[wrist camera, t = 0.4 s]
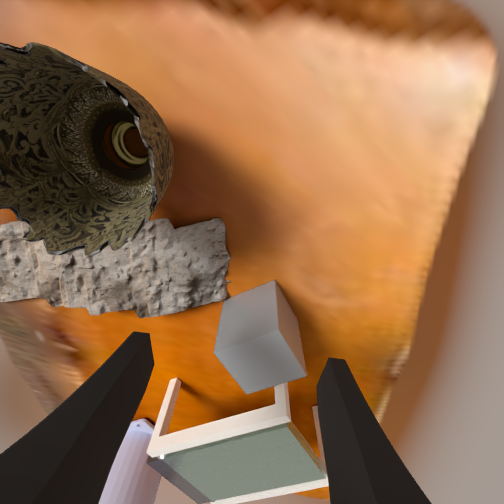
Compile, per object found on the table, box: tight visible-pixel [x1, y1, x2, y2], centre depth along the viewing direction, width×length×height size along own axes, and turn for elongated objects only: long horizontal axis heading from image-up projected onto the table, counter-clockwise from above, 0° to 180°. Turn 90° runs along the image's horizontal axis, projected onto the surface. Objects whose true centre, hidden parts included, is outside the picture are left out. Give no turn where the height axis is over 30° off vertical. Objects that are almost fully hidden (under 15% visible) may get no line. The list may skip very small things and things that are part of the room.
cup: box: [0, 42, 174, 258], centre depth 13 cm, size 8×7×8 cm
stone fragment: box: [0, 218, 231, 318], centre depth 21 cm, size 25×3×10 cm
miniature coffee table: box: [146, 378, 329, 504], centre depth 25 cm, size 12×11×6 cm
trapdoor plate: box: [146, 420, 326, 504], centre depth 23 cm, size 12×8×2 cm
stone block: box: [214, 280, 307, 394], centre depth 20 cm, size 5×5×6 cm
